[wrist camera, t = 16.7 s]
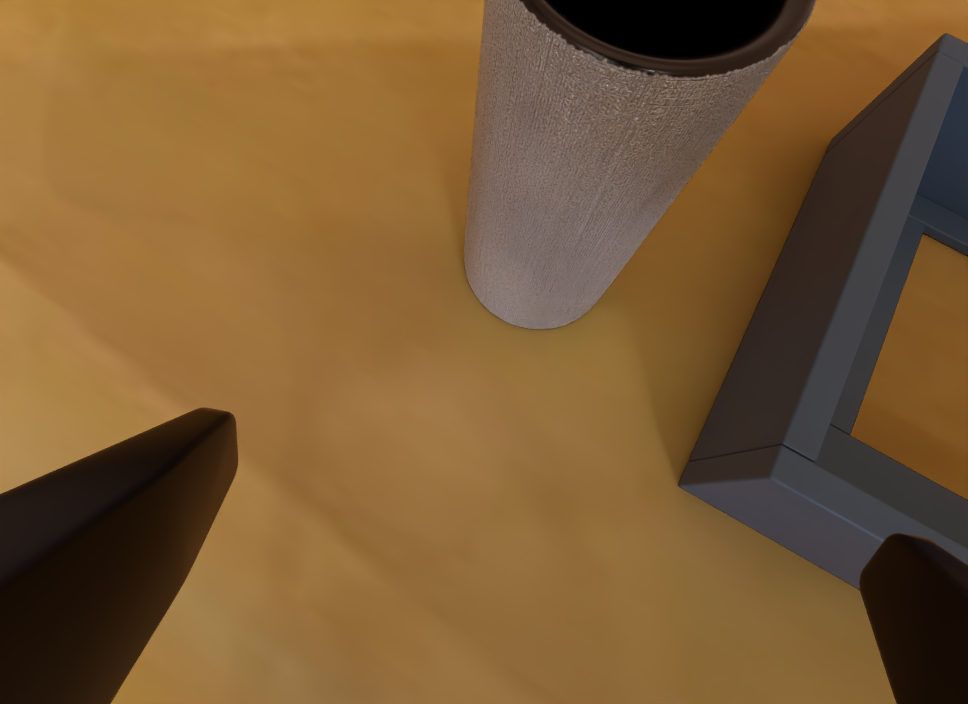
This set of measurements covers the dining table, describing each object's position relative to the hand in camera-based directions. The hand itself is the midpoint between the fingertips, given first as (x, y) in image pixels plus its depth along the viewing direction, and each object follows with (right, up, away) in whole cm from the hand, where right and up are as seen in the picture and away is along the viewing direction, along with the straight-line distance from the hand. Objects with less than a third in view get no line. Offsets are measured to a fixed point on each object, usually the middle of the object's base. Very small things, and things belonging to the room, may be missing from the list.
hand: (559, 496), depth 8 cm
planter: (+1, +5, +10) cm, 11 cm away
